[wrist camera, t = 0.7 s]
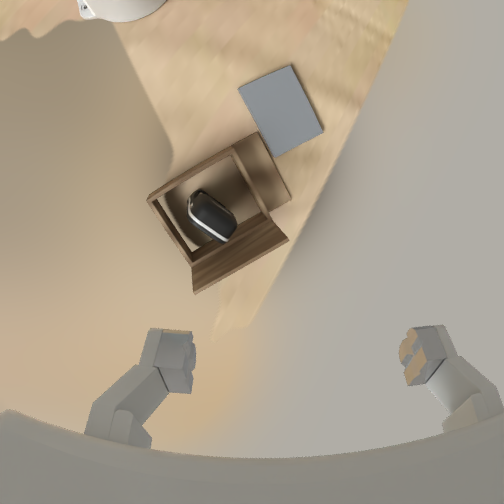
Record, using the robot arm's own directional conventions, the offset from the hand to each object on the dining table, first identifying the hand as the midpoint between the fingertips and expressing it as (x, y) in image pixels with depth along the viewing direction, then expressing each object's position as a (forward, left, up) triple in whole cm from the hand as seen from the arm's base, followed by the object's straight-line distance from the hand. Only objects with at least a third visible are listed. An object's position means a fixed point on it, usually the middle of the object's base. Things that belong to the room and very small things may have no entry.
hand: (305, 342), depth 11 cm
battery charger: (+5, -3, -43) cm, 43 cm away
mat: (-3, +15, -43) cm, 45 cm away
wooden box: (+5, -1, -43) cm, 43 cm away
